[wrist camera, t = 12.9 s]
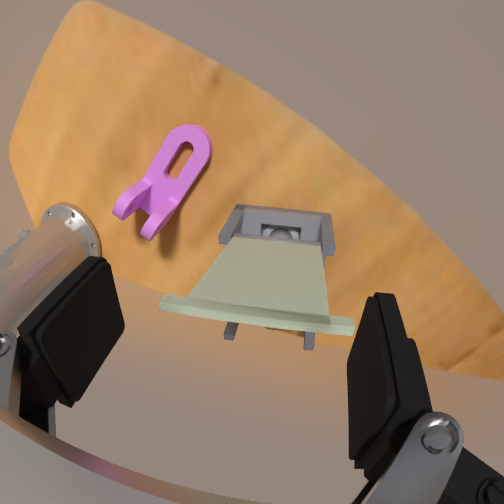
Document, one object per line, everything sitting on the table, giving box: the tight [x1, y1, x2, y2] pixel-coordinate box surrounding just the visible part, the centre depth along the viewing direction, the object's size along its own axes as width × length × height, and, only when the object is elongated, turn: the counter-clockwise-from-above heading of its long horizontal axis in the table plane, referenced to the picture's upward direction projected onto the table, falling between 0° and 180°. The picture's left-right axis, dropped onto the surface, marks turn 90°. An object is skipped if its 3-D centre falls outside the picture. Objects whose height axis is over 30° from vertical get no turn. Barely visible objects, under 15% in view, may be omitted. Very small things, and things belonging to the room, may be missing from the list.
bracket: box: [112, 124, 212, 241], centre depth 35 cm, size 13×6×7 cm, turn 144°
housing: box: [219, 204, 335, 350], centre depth 38 cm, size 11×15×8 cm
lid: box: [159, 233, 355, 336], centre depth 24 cm, size 11×15×1 cm
